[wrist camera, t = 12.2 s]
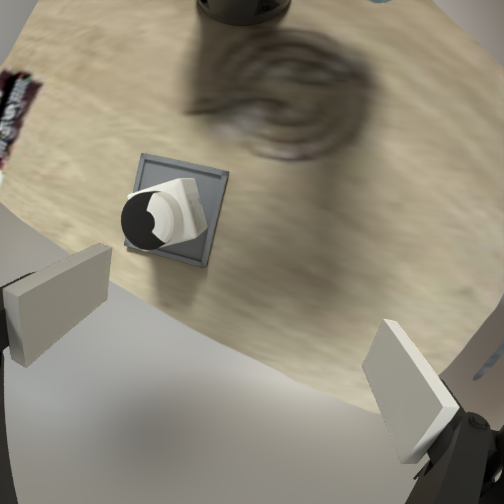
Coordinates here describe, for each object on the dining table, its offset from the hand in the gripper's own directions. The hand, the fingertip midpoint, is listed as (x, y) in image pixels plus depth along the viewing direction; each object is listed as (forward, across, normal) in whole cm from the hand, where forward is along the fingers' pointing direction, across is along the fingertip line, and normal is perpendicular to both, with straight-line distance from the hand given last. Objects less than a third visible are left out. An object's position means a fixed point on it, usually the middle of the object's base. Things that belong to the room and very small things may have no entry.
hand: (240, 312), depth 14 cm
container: (+32, -12, -2) cm, 35 cm away
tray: (+33, -13, -2) cm, 35 cm away
